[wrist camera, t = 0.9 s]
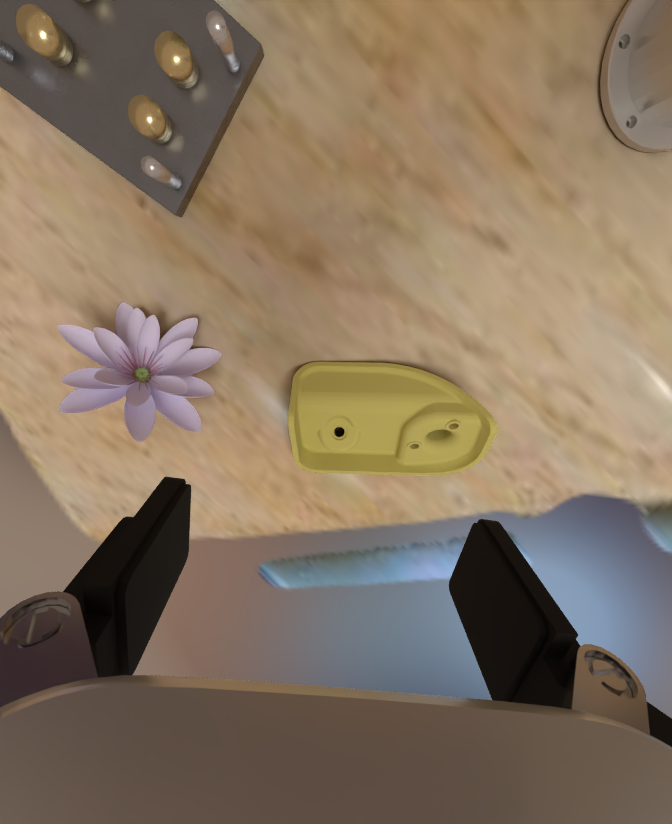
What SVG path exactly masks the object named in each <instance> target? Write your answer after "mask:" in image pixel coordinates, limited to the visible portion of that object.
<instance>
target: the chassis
mask: <svg viewBox="0 0 672 824" xmlns="http://www.w3.org/2000/svg"><path fill="white" fill-rule="evenodd" d="M263 57H264V53H263V49H262V46H261V44H260V43H259V42H258V41H257V40H256V39H255V38H254V37H253V36H252V35H251V34H250V33H249V32H247V31H246V30H245V29H244V28H243V27H242V26H241V25H240V24H239V23H238V22H237V21H236V20H235V19H234V18H232V17H231V16H230V15H229V14H228V13H227V12H226V11H225V10H224V9H223V8H222V7H221V6H220V5H218V4H217V3H216V2H215V1H214V0H0V86H1V87H2V88H3V89H5V90H6V91H7V92H9V93H10V94H12V95H13V96H14V97H16V98H17V99H18V100H20V101H21V102H22V103H24V104H25V105H26V106H28V107H29V108H31V109H32V110H33V111H35V112H36V113H37V114H39V115H40V116H41V117H43V118H44V119H46V120H47V121H48V122H50V123H51V124H52V125H54V126H55V127H56V128H58V129H59V130H60V131H62V132H63V133H65V134H66V135H67V136H69V137H70V138H71V139H73V140H74V141H75V142H77V143H78V144H80V145H81V146H82V147H84V148H85V149H86V150H88V151H89V152H90V153H92V154H93V155H94V156H96V157H97V158H99V159H100V160H101V161H103V162H104V163H105V164H107V165H108V166H109V167H111V168H112V169H114V170H115V171H116V172H118V173H119V174H120V175H122V176H123V177H124V178H126V179H127V180H128V181H130V182H131V183H133V184H134V185H135V186H137V187H138V188H139V189H141V190H142V191H143V192H145V193H146V194H148V195H149V196H150V197H152V198H153V199H154V200H156V201H157V202H158V203H160V204H161V205H162V206H164V207H165V208H167V209H168V210H169V211H171V212H172V213H173V214H175V215H177V216H180V217H182V215H183V213H184V211H185V210H186V208H187V206H188V204H189V202H190V200H191V198H192V196H193V194H194V192H195V190H196V188H197V186H198V184H199V182H200V180H201V178H202V176H203V174H204V172H205V170H206V168H207V166H208V165H209V163H210V161H211V159H212V157H213V155H214V153H215V151H216V149H217V147H218V145H219V143H220V141H221V139H222V137H223V135H224V133H225V131H226V129H227V127H228V125H229V123H230V121H231V119H232V118H233V116H234V114H235V112H236V110H237V108H238V106H239V104H240V102H241V100H242V98H243V96H244V94H245V92H246V90H247V88H248V86H249V84H250V82H251V80H252V78H253V76H254V74H255V73H256V71H257V69H258V67H259V65H260V63H261V61H262V59H263Z"/></svg>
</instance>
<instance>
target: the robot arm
mask: <svg viewBox="0 0 672 824" xmlns="http://www.w3.org/2000/svg"><path fill="white" fill-rule="evenodd" d="M600 90H601V101H602V106H603V111H604V115H605V117H606V119H607V122H608V124H609V127H610V128H611V129H612V131H613V132H614V134H615V135H616V136H617V138H618V139H620V140H621V141H622V142H623V143H625V144H626V145H627V146H629V147H631V148H633V149H636V150H638V151H643V152H650V153H654V152H665V151H668V150H672V0H629V1H628V2H627V4H626V5H625V7H624V9H623V10H622V12H621V14H620V16H619V17H618V19H617V21H616V23H615V25H614V28H613V30H612V33H611V35H610V37H609V40H608V43H607V46H606V50H605V54H604V58H603V61H602V70H601V78H600ZM190 504H191V485H189V484H186V482H185V480H184V479H180V478H172V477H165V478H164V479H163V480H162V481H161V482H160V484H159V485H158V486H157V487H156V489H155V490H154V491H153V493H152V494H151V495H150V497H149V498H148V499H147V501H146V502H145V503H144V504H143V506H142V507H141V508H140V510H139V511H138V512H137V514H136V515H135V516H134V517H125V518H123V519H122V520H121V521H120V522H119V523H118V524H117V526H116V527H115V528H114V529H113V531H112V532H111V533H110V534H109V535H108V537H107V538H106V539H105V540H104V542H103V543H102V544H101V545H100V547H99V548H98V549H97V550H96V552H95V553H94V554H93V555H92V557H91V558H90V559H89V560H88V561H87V563H86V564H85V565H84V567H83V568H82V569H81V570H80V572H79V573H78V574H77V575H76V576H75V578H74V579H73V580H72V581H71V583H70V584H69V585H68V586H67V587H66V589H65V590H64V591H63V592H59V591H58V592H47V593H43V594H39V595H35V596H33V597H31V598H28V599H26V600H24V601H22V602H20V603H19V604H17V605H16V606H14V607H12V608H11V609H10V610H8V611H7V612H6V613H5V614H4V615H3V616H2V617H1V618H0V824H672V719H671V718H670V717H668V716H667V715H665V714H664V713H663V712H661V711H660V710H658V709H657V708H655V707H654V706H652V705H651V704H649V703H648V702H647V701H646V694H645V690H644V688H643V685H642V684H641V682H640V680H639V679H638V677H637V676H636V675H635V673H634V672H633V671H632V670H631V669H630V668H629V667H628V666H627V665H626V664H625V663H624V662H623V661H622V660H621V659H619V658H617V657H616V656H615V655H614V654H612V653H611V652H609V651H607V650H605V649H603V648H601V647H598V646H595V645H591V644H584V645H582V646H580V645H579V644H578V642H577V641H576V638H577V636H578V634H577V632H576V631H575V629H574V628H573V627H572V625H571V624H570V622H569V621H568V619H567V618H566V617H565V615H564V614H563V612H562V611H561V610H560V608H559V607H558V605H557V604H556V602H555V601H554V600H553V598H552V597H551V595H550V594H549V592H548V591H547V590H546V588H545V587H544V585H543V584H542V582H541V581H540V579H539V578H538V577H537V575H536V574H535V572H534V571H533V570H532V568H531V567H530V565H529V564H528V562H527V561H526V559H525V558H524V557H523V555H522V554H521V552H520V551H519V549H518V548H517V547H516V545H515V544H514V542H513V541H512V539H511V538H510V537H509V535H508V534H507V532H506V531H505V529H504V528H503V527H502V525H501V524H500V523H499V522H497V521H492V520H484V519H480V520H479V521H478V522H477V523H474V524H473V525H472V527H471V530H470V532H469V535H468V537H467V540H466V542H465V544H464V547H463V549H462V552H461V554H460V557H459V559H458V561H457V564H456V566H455V569H454V571H453V574H452V576H451V579H450V582H449V590H450V594H451V596H452V599H453V601H454V604H455V606H456V609H457V612H458V614H459V617H460V619H461V622H462V624H463V627H464V629H465V632H466V634H467V637H468V639H469V642H470V644H471V647H472V650H473V652H474V655H475V657H476V660H477V662H478V665H479V667H480V670H481V672H482V675H483V677H484V680H485V682H486V685H487V687H488V690H489V693H490V695H491V698H492V700H481V699H470V698H459V697H447V696H435V695H424V694H411V693H398V692H386V691H374V690H362V689H349V688H336V687H323V686H310V685H295V684H282V683H269V682H255V681H242V680H228V679H212V678H194V677H175V676H145V675H138V676H137V675H136V676H135V675H132V674H133V673H134V671H135V669H136V667H137V665H138V663H139V661H140V659H141V657H142V655H143V653H144V650H145V648H146V646H147V644H148V641H149V640H150V638H151V635H152V633H153V631H154V629H155V627H156V625H157V623H158V621H159V618H160V616H161V614H162V612H163V610H164V608H165V606H166V603H167V601H168V599H169V597H170V595H171V592H172V591H173V588H174V586H175V584H176V582H177V580H178V578H179V575H180V574H181V572H182V569H183V567H184V565H185V563H186V560H187V557H188V551H189V529H190Z"/></svg>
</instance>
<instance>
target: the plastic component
mask: <svg viewBox="0 0 672 824" xmlns="http://www.w3.org/2000/svg"><path fill="white" fill-rule="evenodd" d="M453 423H455V424H453ZM337 427H342V428H343V429H344V431H345V433H344V435H343V436H341V437H338V436H336V435H335V433H334V430H335V428H337ZM288 428H289V434H290V440H291V446H292V452H293V458H294V462H295V463H296V465H297V466H298V467H300V468H302V469H303V470H306V471H309V472H315V473H344V474H377V475H411V476H434V475H446V474H452V473H457V472H460V471H463V470H466V469H468V468H470V467H472V466H474V465H475V464H477V463H478V462H479V461H480V460H481V459H483V457H484V456H485V455H486V453H487V452H488V450H489V448H490V446H491V444H492V442H493V440H494V438H495V436H496V434H497V424H496V421H495V420H494V418H493V417H492V415H491V414H490V413H489V412H488V411H487V410H486V409H485V408H484V407H483V406H482V405H481V404H480V403H479V402H478V401H477V400H475V399H474V398H473V397H472V396H470V395H469V394H468V393H466V392H465V391H463V390H462V389H460V388H459V387H457V386H455V385H454V384H452V383H450V382H448V381H447V380H445V379H442V378H440V377H438V376H436V375H434V374H431V373H429V372H426V371H423V370H420V369H416V368H413V367H409V366H404V365H398V364H391V363H365V362H312V363H308V364H306V365H304V366H302V367H301V368H300V369H299V370H298V371H297V372H296V373H295V375H294V377H293V382H292V390H291V397H290V404H289V412H288Z"/></svg>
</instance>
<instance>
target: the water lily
mask: <svg viewBox="0 0 672 824" xmlns="http://www.w3.org/2000/svg"><path fill="white" fill-rule="evenodd" d="M197 326H198V319H197V318H189V319H186V320H183V321H181V322H179V323H178V324H176V325H175V326H173V327H172V328H171V329H170V330H169V331H168V332H167V333H166V334H165V335H164V336H163V337H162V339H161V340H160V341H159V339H160V327H159V323H158V320H157V318H156V316H155V315H151V316H149V317H148V318H147V319H146V316H145V315H144V313H143V312H142V311H141V310H140V309H139V308H135V309H134V308H133V307H132V306H130V305H127V304H126V303H125V302H122V303H121V304H120V305H119V306H118V308H117V311H116V315H115V327H116V332H117V335H116V334H114V333H113V332H111V331H109V330H107V329H104V328H100V327H94V329H93V332H92V331H90V330H87V329H85V328H82V327H78V326H74V325H58V330H59V332H60V334H61V335H62V337H63V338H64V339H65V340H66V341H67V342H68V343H69V344H70V345H71V346H72V347H73V348H75V349H76V350H77V351H79V352H80V353H82V354H83V355H85V356H86V357H88V358H90V359H91V360H93V361H95V362H96V363H98V364H100V365H102V366H105V367H107V368H85V369H79V370H76V371H73V372H70V373H68V374H67V375H65V376H64V377H63V378H62V379H61V381H62V382H63V383H65V384H67V385H69V386H73V387H77V389H75V390H74V391H72V392H71V393H70V394H69V395H67V396H66V397H65V398H64V400H63V401H62V402H61V404H60V406H59V411H60V412H63V413H80V412H86V411H90V410H94V409H98V408H101V407H104V406H106V405H109V404H111V403H113V402H115V401H117V400H119V399H121V398H122V397H124V396H125V395H126V399H127V400H126V402H125V413H124V415H125V423H126V426H127V429H128V431H129V433H130V434H131V436H132V437H133V438H134V439H135V440H136V441H137V442H142V441H144V440H145V439H146V438H147V437H148V436H149V434H150V433H151V431H152V429H153V427H154V424H155V420H156V409H157V410H158V411H159V412H160V413H161V414H162V415H163V416H164V417H166V418H167V419H168V420H169V421H171V422H172V423H174V424H175V425H177V426H179V427H181V428H183V429H185V430H188V431H191V432H200V431H201V420H200V417H199V415H198V413H197V411H196V409H195V408H194V407H193V405H192V404H191V403H190V402H189V401H188V400H187V399H185V398H199V397H207V396H210V395H213V394H214V390H213V388H212V387H211V386H210V385H209V384H208V383H207V382H205V381H203V380H201V379H199V378H196V377H192V376H190V375H193V374H196V373H198V372H201V371H203V370H205V369H207V368H209V367H210V366H212V365H213V364H215V363H216V362H217V361H218V360H219V359H220V358H221V356H222V353H221V352H218V351H217V350H216V349H212V348H196V349H191V350H189V349H190V348H191V346H192V344H193V342H194V339H192V338H193V337H194V335H195V333H196V330H197ZM184 397H185V398H184Z"/></svg>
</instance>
